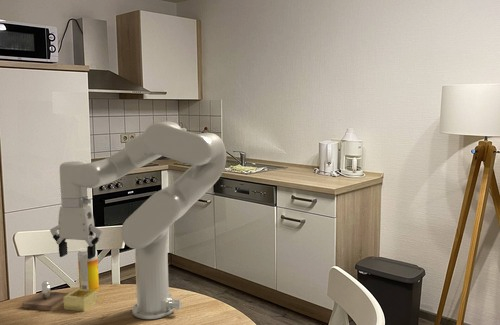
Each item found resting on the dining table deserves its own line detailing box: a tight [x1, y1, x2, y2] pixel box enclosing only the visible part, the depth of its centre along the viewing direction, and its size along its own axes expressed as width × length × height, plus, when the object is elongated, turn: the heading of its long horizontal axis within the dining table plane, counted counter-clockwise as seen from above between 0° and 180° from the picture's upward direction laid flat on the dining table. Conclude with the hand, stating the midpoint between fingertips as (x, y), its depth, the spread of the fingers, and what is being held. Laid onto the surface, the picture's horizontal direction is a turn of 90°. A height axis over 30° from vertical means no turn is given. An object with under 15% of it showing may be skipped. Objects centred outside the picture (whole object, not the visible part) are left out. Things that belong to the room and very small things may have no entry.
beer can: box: [77, 246, 100, 294], centre depth 158 cm, size 6×6×15 cm
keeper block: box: [22, 280, 70, 312], centre depth 150 cm, size 10×10×7 cm
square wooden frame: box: [63, 288, 98, 312], centre depth 148 cm, size 7×7×4 cm
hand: (77, 256), depth 146 cm, fingers open, 9 cm apart
